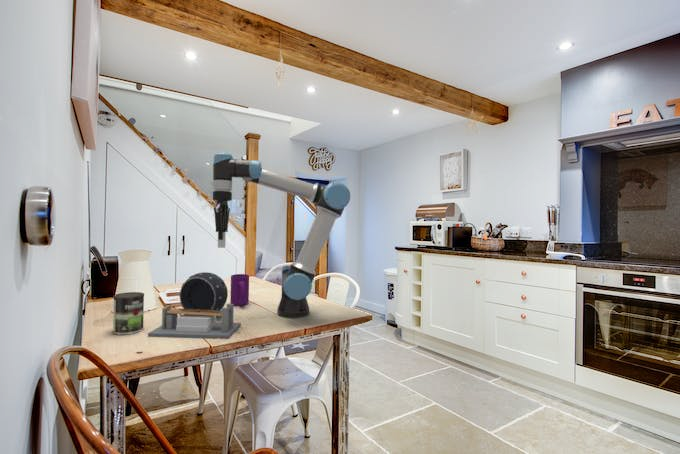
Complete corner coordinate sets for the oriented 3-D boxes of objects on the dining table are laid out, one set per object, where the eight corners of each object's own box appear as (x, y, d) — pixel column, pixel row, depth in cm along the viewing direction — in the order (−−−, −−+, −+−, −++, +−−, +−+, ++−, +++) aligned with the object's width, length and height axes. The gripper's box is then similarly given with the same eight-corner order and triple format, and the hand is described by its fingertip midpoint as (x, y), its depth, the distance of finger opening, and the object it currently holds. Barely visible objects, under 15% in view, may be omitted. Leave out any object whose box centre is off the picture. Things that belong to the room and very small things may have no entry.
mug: (247, 301, 188) (247, 273, 188) (252, 308, 174) (252, 278, 174) (229, 302, 185) (229, 274, 184) (233, 310, 170) (233, 279, 170)
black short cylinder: (217, 322, 150) (218, 275, 150) (176, 318, 154) (176, 273, 154) (230, 315, 161) (230, 272, 160) (191, 312, 165) (191, 269, 164)
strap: (231, 314, 140) (231, 309, 140) (228, 317, 136) (228, 312, 136) (172, 311, 141) (172, 306, 140) (167, 314, 137) (167, 309, 136)
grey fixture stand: (240, 325, 146) (241, 301, 146) (228, 338, 130) (228, 311, 130) (169, 323, 147) (169, 299, 147) (147, 336, 131) (148, 309, 131)
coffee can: (149, 329, 139) (149, 294, 138) (121, 336, 130) (121, 298, 129) (135, 324, 144) (135, 290, 144) (107, 331, 135) (108, 295, 135)
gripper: (219, 192, 153) (218, 246, 153) (207, 189, 140) (206, 248, 140) (236, 192, 153) (235, 246, 153) (226, 190, 140) (225, 249, 140)
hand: (221, 247), depth 147 cm, fingers closed
